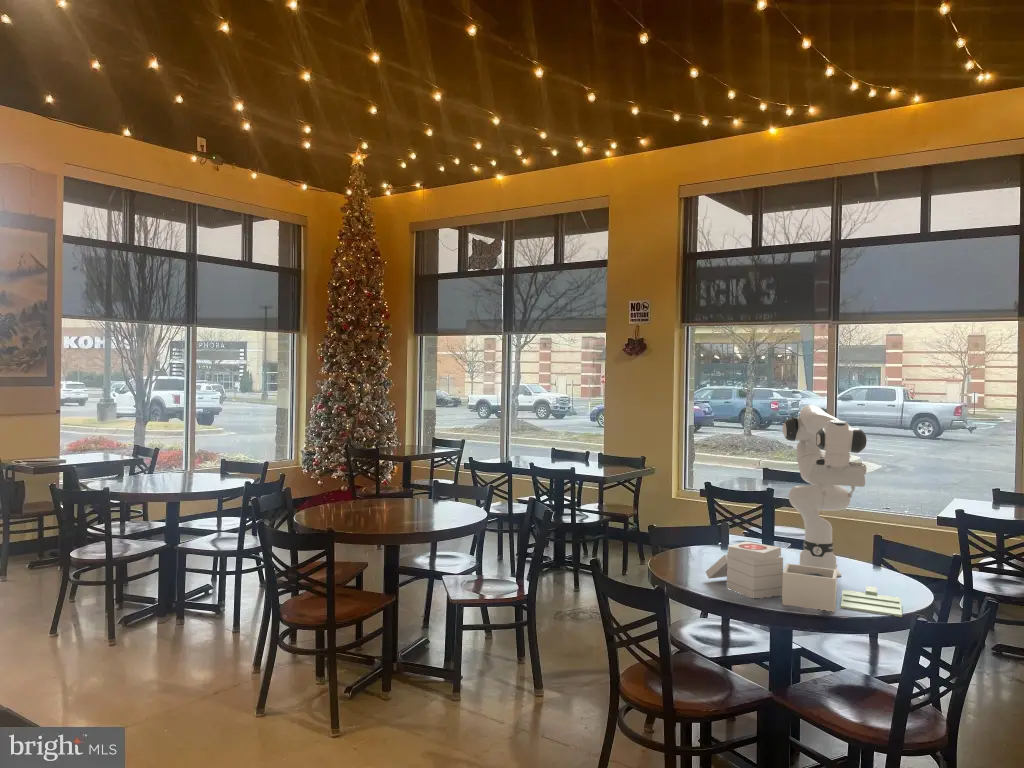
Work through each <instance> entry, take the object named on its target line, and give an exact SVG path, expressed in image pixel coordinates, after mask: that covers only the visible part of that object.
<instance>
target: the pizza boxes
mask: <svg viewBox="0 0 1024 768" xmlns="http://www.w3.org/2000/svg"><path fill="white" fill-rule="evenodd" d="M727 549H728V551H727V554H724V555H723V556H721V558H719V559H718V560H717V561H716V562H715V563H713V564H712V565H711V566H710V567H709V568H708V569H707V570H705V573H706V576H707V578H708V580H710V579H717V578H725V577H726V589H727V588H729V589H731V590H733V591H736V592H739V593H741V594H743V595H742V596H744V595H745V596H744V597H746V596H748V597H747V598H749V597H751V598H753V599H752V600H755V599H754V598H760V599H764V598H763V597H767V598H773V597H772V596H775V597H781V596H780V595H782V584H783V571H784V557H782V556H781V555H782V550H781V549H782V547H780V546H775V545H768V544H763V543H758V542H752V541H742V542H738V543H735V544H731V545H729V546H727ZM731 590H730V591H731ZM733 591H732V592H733ZM736 592H735V593H736ZM741 594H740V595H741ZM751 598H750V599H751Z"/></svg>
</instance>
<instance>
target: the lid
mask: <svg viewBox="0 0 1024 768" xmlns="http://www.w3.org/2000/svg"><path fill="white" fill-rule="evenodd" d="M902 607H903V606H902V598H901V597H897V596H890V595H884V594H883V595H882V594H878V586H877V587H876V586H870V585H866V586H865V592H861V591H853V590H847V589H842V593H841V602H840V609H842V608H847V609H846V610H849V609H853V610H852V611H856V610H859V611H858V612H863V611H866V612H865V613H869V612H871V613H870V614H876V613H881V614H880V615H883V614H890V615H894V616H893V617H897V618H903V610H902ZM890 615H889V616H890Z"/></svg>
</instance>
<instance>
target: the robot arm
mask: <svg viewBox="0 0 1024 768" xmlns="http://www.w3.org/2000/svg"><path fill="white" fill-rule="evenodd" d="M782 433H783V436H784V438H785V439H786V440H787V441H790V442H795V441H798V443H797V445H796V459H797V465H798V469H799V474H800V477H801V479H802V480H803V481H805V482H806V483H807V484H800V485H794V486H793V487H791V489H790V490H789V492H788V501H789V504H790V505H791V506H792V507H793V508H794V509H795V510H797V512H798V513H799V514H800V515H801V518H802V519H803V523H804V539H803V550H802V551H800V553H799V563H798V565H803V566H811V567H819V568H828V569H836V570H837V578H838V577H842V573H841V572H840V570H839V569H838V568H837V567H838V564H837V556H836V555H835V554H834V552H833V551H834V543H833V526H832V524H831V522H830V521H829V520H827V519H825V518H824V517H821V515H820V511H829V512H830V511H831V512H833V511H834V512H836V511H842V510H846V509H848V507H849V506H850V504H851V499H852V498H853V493H854V491H855V490H856V488H857V487H861V488H863V487H865V485H866V476H865V475H866V474H867V466H866V465H865V464H864V463H862V462H854V461H853V462H852V461H850V460H851V459H850V457H851V455H850V454H851V453H855V454H858V453H861V452H862V451H863V450H864V449H865V448H866V446H867V436H866V433H865V432H864V431H863V430H862V429H861V428H860V427H853V426H852V425H850V424H849V422H847V421H844V420H841V419H839V418H837V417H834V416H833V415H831V414H829V413H827V412H826V411H825V410H823V409H822V408H821V407H820V406H816V405H813V404H807V405H806V406H804V407H802V408H801V410H800V412H799V417H795V416H792V417H790V418H788V419H786V420H784V422H783V425H782ZM822 451H825V452H824V456H823V453H822ZM843 486H844V487H843ZM845 486H846V487H850V488H851V491H850V492H849V491H848V490H847V489H846V488H845Z"/></svg>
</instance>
